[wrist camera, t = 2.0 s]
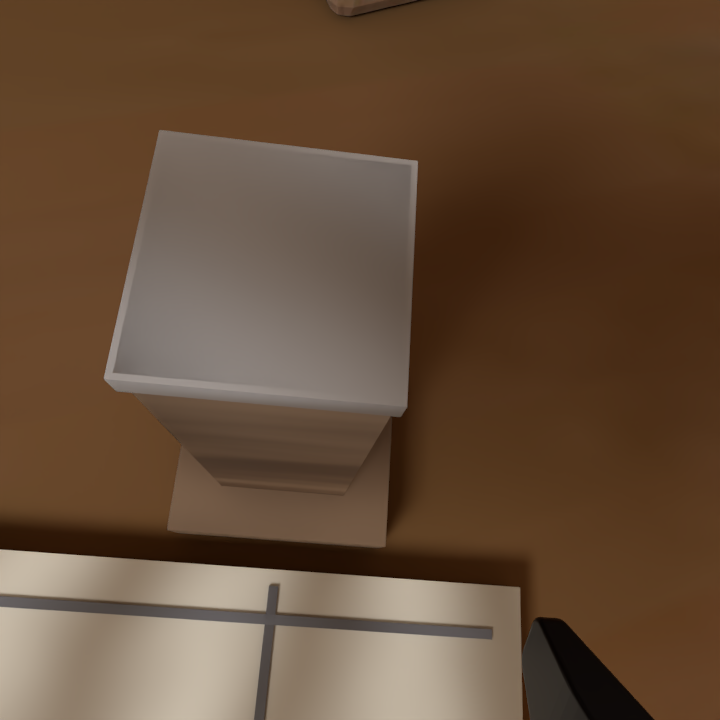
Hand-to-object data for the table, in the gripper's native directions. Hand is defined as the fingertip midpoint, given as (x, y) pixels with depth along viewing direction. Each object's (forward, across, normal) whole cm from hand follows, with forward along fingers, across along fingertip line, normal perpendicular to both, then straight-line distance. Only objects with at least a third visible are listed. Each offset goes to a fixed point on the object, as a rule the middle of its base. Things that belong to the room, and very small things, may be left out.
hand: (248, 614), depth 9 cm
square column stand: (+12, 0, +5) cm, 13 cm away
